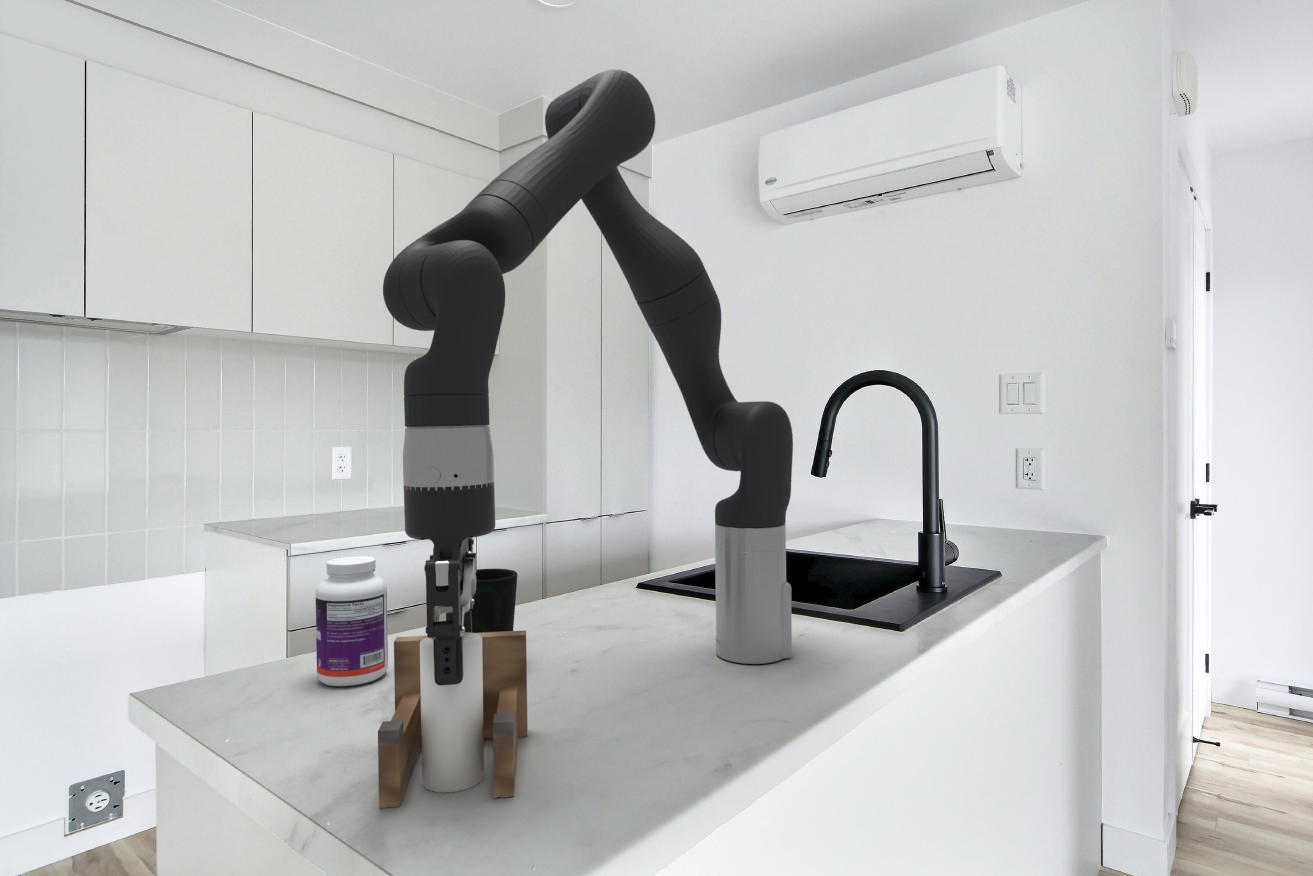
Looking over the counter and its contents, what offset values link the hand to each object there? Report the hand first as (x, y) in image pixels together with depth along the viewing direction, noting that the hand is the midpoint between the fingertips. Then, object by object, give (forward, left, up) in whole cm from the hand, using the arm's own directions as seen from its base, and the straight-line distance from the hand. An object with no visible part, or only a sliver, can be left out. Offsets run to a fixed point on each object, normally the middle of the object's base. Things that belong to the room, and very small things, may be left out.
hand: (454, 666), depth 65 cm
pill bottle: (+15, -29, -10) cm, 34 cm away
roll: (0, 0, -10) cm, 10 cm away
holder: (0, -3, -10) cm, 10 cm away
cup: (-1, -29, -10) cm, 31 cm away
